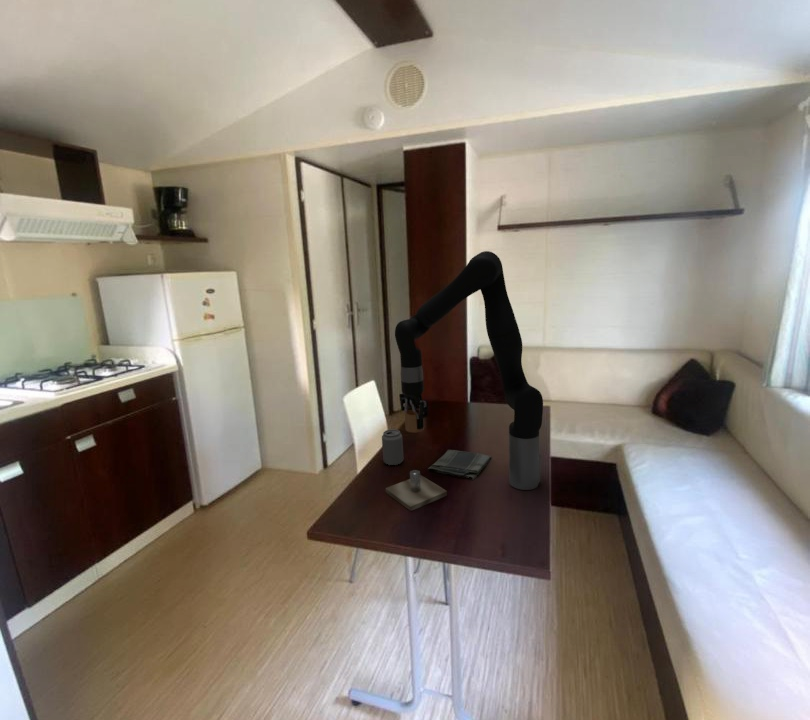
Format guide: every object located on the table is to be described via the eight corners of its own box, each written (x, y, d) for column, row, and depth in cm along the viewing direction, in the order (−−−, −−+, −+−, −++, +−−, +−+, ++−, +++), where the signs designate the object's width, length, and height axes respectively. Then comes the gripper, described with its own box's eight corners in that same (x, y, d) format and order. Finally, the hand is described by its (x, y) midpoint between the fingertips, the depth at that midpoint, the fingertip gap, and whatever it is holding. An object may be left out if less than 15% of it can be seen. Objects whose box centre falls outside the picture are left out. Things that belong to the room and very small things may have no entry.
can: (391, 456, 165) (389, 426, 162) (407, 460, 160) (405, 430, 158) (379, 463, 159) (377, 433, 156) (395, 468, 154) (393, 437, 152)
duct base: (420, 478, 146) (420, 474, 145) (447, 495, 134) (446, 491, 134) (385, 492, 138) (385, 488, 138) (410, 511, 127) (410, 506, 126)
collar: (416, 424, 151) (416, 408, 150) (427, 429, 146) (426, 412, 145) (402, 428, 148) (401, 412, 146) (412, 433, 143) (411, 416, 141)
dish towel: (448, 452, 166) (447, 444, 166) (492, 460, 158) (492, 452, 157) (426, 473, 151) (426, 464, 150) (474, 483, 142) (474, 474, 141)
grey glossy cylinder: (416, 486, 138) (415, 468, 137) (422, 490, 135) (421, 472, 134) (408, 489, 136) (407, 472, 135) (414, 493, 134) (413, 475, 132)
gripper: (434, 380, 139) (436, 429, 143) (409, 373, 151) (411, 418, 154) (415, 385, 135) (418, 435, 139) (391, 377, 147) (394, 423, 150)
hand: (414, 425), depth 146 cm, fingers closed on collar, 6 cm apart
